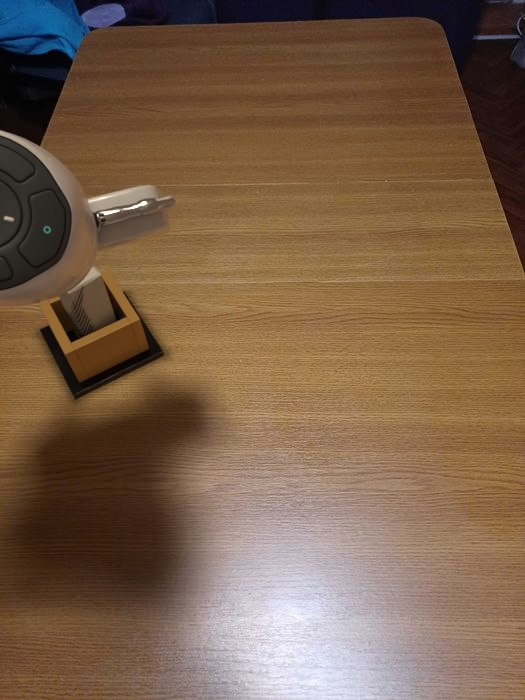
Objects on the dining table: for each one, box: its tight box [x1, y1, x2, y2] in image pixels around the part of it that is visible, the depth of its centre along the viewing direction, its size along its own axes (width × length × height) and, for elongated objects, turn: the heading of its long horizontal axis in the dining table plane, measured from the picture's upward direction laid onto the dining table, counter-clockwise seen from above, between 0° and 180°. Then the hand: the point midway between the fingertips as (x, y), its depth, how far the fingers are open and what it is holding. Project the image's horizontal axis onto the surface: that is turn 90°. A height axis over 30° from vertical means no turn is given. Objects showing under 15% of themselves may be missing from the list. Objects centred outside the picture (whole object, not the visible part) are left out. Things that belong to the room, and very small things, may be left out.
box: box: [59, 265, 117, 339], centre depth 73 cm, size 5×4×13 cm
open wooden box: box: [37, 270, 165, 400], centre depth 76 cm, size 12×12×7 cm
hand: (52, 246), depth 55 cm, fingers open, 8 cm apart
